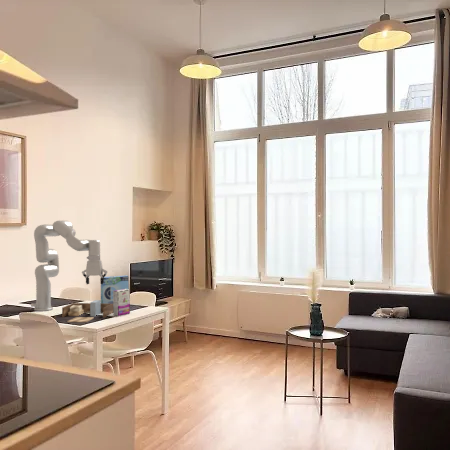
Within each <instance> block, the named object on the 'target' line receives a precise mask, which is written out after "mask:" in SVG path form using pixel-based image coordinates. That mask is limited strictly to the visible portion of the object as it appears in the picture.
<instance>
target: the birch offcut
mask: <svg viewBox="0 0 450 450" xmlns="http://www.w3.org/2000/svg"><path fill="white" fill-rule="evenodd" d="M81 310H82V305H73V306H71V307H70V312H80V311H81Z"/></svg>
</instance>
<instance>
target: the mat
mask: <svg viewBox="0 0 450 450" xmlns="http://www.w3.org/2000/svg"><path fill="white" fill-rule="evenodd" d="M94 317H95V316H87V317H83V316H74V317H73V318H71V319H68V320H67V323H88V322H90V321H91V320H93V319H94Z"/></svg>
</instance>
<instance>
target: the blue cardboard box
mask: <svg viewBox="0 0 450 450" xmlns="http://www.w3.org/2000/svg"><path fill="white" fill-rule="evenodd" d="M122 289H129V275H126V274H125V275H115V276H114V275H111V276H105V277H104V283H103V284H101V283H100V300H101V303H110V304H113V291H117V290H122Z"/></svg>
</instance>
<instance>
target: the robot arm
mask: <svg viewBox="0 0 450 450" xmlns="http://www.w3.org/2000/svg"><path fill="white" fill-rule="evenodd" d="M76 235H77V234H76V230H75V229H74V228H73V223H72V222H71V221H69V220H56V221H54V222H53V223H52V224H49V223H48V224H40V225H37V226H36V228H35V229H34V231H33V238H34V242H35V243H34V244H35V258H36V261H37V262H38V263H40V264H39V265H38V266H36V267H35V269H34V275H35V280H36V281H35V284H36V286H35V288H36V289H35V291H36V293H35V297H36V298H35V303H31V304H30V306H31V307H34V308H33V311H35V312H36V311H37V312H43V311H44V312H46V311H51V310H54V307H53V306H52V304H51V303H52V302H51V301H52V300H51V299H52V284H51V281H50V278H55V277H57V276H58V274H59V273H60V263H59V262H60V261H59V259H60V258H59V253H58V252H57V250H56V249H54V248H49V241H48V238H47V237H59V236H61V237H62V238H64V239H65V242H66V243H67V246H68V247H70V248H71V249H73V250H75V251H76V252H86V251H88V256H86V265H85V266H86V268H85V269H84V270H82V271H81V274H82V276H83V277H84V278H85V284H86V285H89V284H90V276H93V277H94V276H99V277H100V279H99V280H100V282H99V283H100V285H101V284H103V283H104V277H107V274H108V270H106V269H104V268H103V262H102V260H101V240H99V239H79V238H77V237H76ZM41 263H43V264H41ZM45 263H46V264H45ZM103 273H104V274H103Z"/></svg>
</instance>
